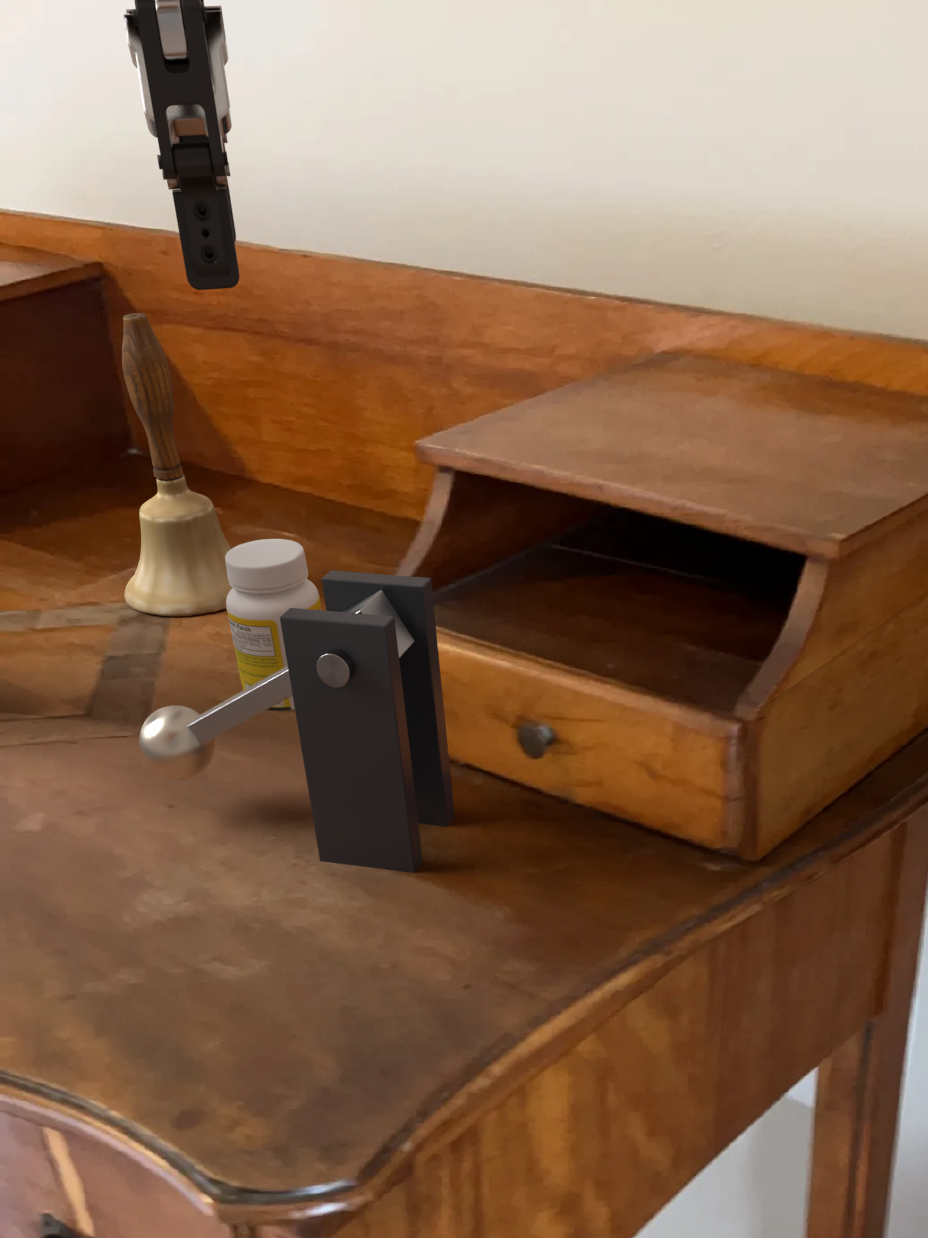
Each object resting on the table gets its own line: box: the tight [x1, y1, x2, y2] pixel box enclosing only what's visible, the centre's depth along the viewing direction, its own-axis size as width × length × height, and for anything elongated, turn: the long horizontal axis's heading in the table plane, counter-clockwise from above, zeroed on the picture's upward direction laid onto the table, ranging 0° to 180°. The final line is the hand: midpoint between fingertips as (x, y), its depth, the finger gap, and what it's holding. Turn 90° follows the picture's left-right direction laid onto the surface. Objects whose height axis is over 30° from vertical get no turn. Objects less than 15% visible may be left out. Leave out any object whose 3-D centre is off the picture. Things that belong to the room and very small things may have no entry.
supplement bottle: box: [225, 538, 322, 712], centre depth 80 cm, size 5×5×8 cm
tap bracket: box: [280, 570, 456, 874], centre depth 64 cm, size 8×8×13 cm
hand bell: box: [121, 312, 232, 617], centre depth 91 cm, size 8×8×16 cm
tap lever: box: [139, 590, 414, 781], centre depth 64 cm, size 14×3×3 cm, turn 74°
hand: (214, 266), depth 69 cm, fingers open, 8 cm apart
